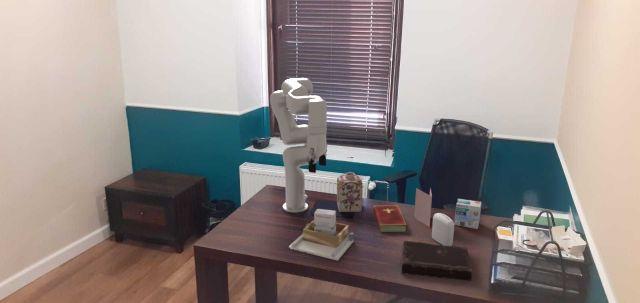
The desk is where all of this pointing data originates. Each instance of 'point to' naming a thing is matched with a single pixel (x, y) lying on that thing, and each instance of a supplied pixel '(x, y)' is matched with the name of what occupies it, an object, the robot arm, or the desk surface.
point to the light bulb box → (467, 213)
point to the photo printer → (443, 229)
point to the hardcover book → (389, 218)
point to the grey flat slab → (322, 247)
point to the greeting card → (423, 207)
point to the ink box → (325, 221)
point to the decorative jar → (349, 192)
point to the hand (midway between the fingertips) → (317, 168)
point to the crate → (326, 235)
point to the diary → (436, 260)
